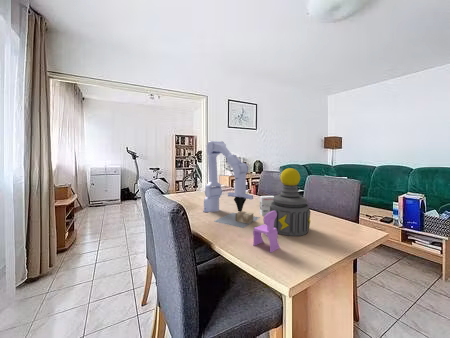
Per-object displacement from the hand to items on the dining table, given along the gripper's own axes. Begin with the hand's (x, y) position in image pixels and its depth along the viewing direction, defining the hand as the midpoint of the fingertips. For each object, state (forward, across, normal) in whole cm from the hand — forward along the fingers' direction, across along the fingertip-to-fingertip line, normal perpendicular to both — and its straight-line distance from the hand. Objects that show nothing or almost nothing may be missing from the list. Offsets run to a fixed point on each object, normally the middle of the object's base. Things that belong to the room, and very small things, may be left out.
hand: (240, 211), depth 115 cm
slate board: (+6, -2, 0) cm, 6 cm away
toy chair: (+6, +24, -21) cm, 32 cm away
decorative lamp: (+6, +26, +3) cm, 26 cm away
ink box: (+6, +8, +18) cm, 21 cm away
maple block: (+3, -1, 0) cm, 3 cm away
